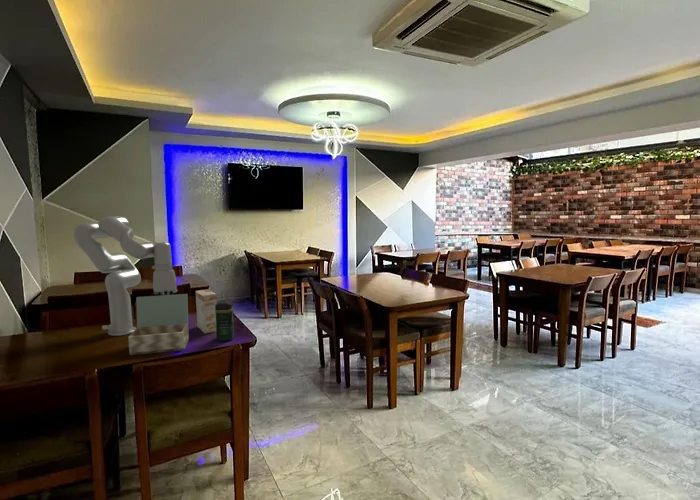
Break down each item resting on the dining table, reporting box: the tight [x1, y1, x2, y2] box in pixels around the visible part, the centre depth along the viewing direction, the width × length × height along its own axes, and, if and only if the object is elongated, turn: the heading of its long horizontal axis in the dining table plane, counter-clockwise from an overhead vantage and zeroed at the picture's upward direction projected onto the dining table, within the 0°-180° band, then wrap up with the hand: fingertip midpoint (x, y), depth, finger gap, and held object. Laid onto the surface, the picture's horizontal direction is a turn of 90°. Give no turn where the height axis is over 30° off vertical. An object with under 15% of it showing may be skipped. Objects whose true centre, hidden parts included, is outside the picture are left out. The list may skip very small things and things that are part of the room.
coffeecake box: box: [195, 289, 218, 334], centre depth 206 cm, size 15×7×20 cm, turn 34°
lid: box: [135, 293, 189, 328], centre depth 188 cm, size 22×15×2 cm
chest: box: [128, 323, 190, 356], centre depth 180 cm, size 22×14×8 cm, turn 104°
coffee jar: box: [215, 299, 235, 342], centre depth 190 cm, size 10×8×19 cm
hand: (166, 304), depth 195 cm, fingers closed
